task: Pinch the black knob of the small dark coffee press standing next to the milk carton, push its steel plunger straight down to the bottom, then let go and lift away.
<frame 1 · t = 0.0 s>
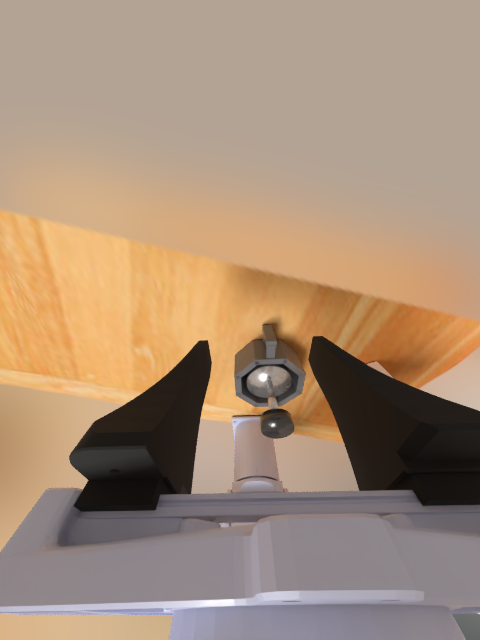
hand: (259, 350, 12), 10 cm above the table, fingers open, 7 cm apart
grey jug: (265, 363, 26), on the table
plunger: (272, 401, 20), point 6 cm above the table, slide at 0.0 cm
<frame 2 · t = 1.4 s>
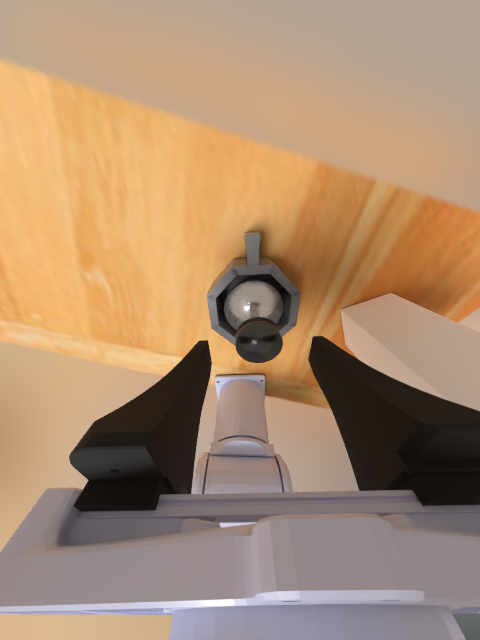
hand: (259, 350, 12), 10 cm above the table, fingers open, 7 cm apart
grey jug: (251, 296, 21), on the table
plunger: (255, 322, 15), point 6 cm above the table, slide at 0.0 cm
milk: (364, 319, 23), on the table
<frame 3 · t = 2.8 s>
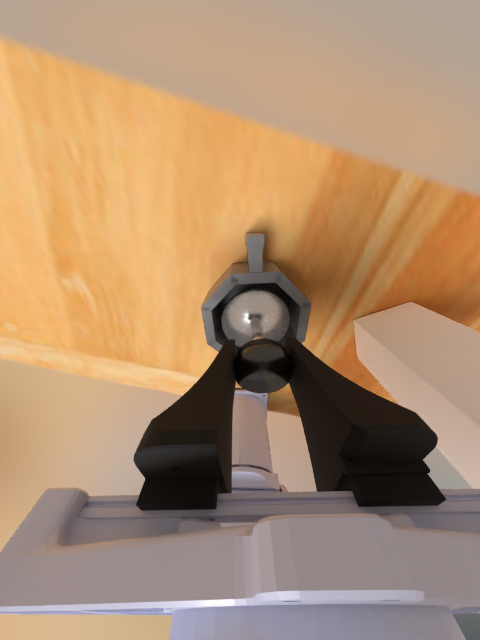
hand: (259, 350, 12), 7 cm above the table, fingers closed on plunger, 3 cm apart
grey jug: (252, 305, 18), on the table
plunger: (258, 341, 13), point 6 cm above the table, slide at 0.0 cm, touching gripper
milk: (379, 330, 20), on the table
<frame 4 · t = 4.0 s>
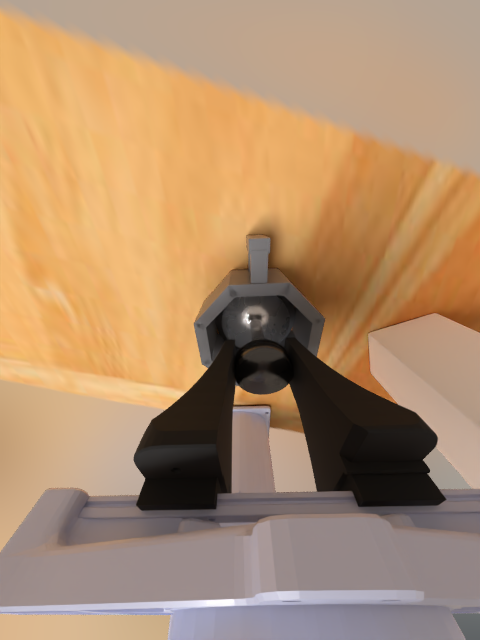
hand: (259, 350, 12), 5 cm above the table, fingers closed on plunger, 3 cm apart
grey jug: (254, 317, 16), on the table
plunger: (258, 341, 13), point 4 cm above the table, slide at 2.5 cm, touching gripper
milk: (397, 344, 18), on the table
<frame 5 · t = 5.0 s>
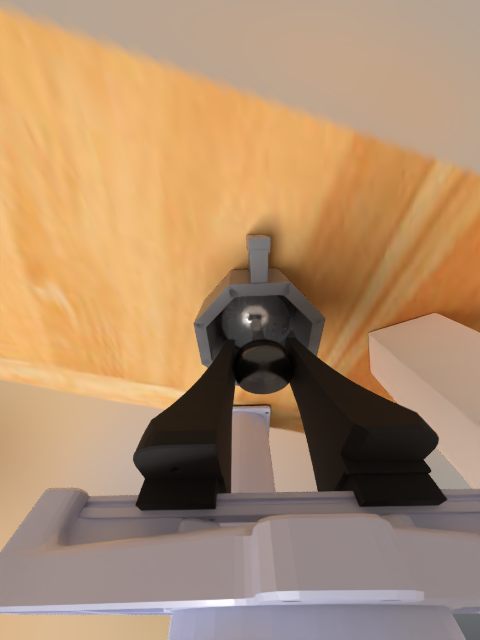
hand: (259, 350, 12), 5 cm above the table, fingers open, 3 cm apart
grey jug: (254, 317, 16), on the table
plunger: (258, 341, 13), point 4 cm above the table, slide at 2.5 cm
milk: (397, 344, 18), on the table
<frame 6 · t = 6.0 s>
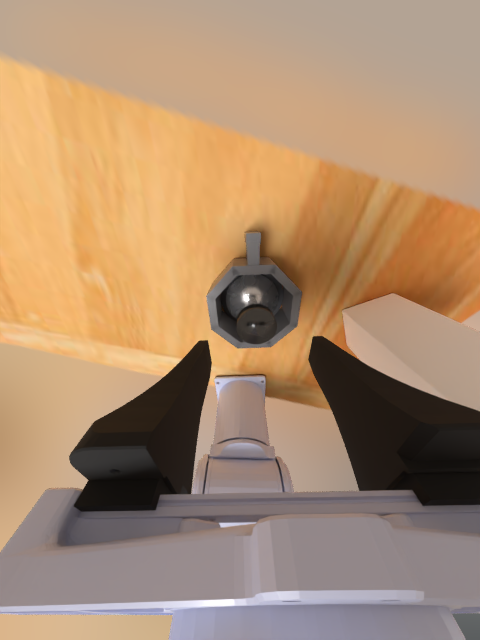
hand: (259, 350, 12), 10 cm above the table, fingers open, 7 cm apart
grey jug: (251, 297, 20), on the table
plunger: (253, 311, 17), point 4 cm above the table, slide at 2.5 cm
milk: (366, 320, 22), on the table
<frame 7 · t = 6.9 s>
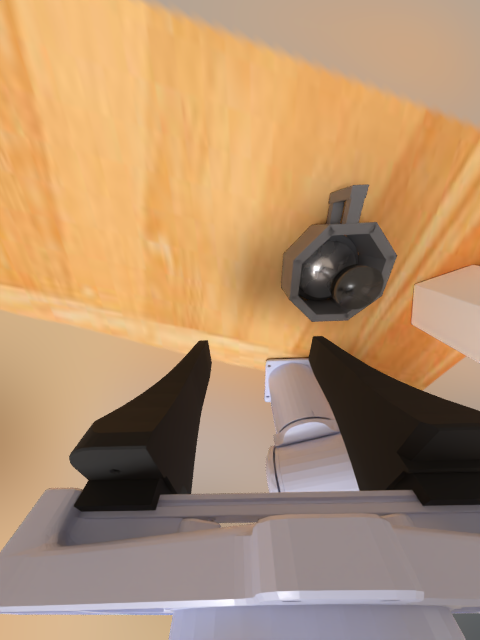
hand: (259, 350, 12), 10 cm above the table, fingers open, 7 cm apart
grey jug: (321, 269, 19), on the table
plunger: (338, 278, 16), point 4 cm above the table, slide at 2.5 cm
milk: (437, 296, 21), on the table
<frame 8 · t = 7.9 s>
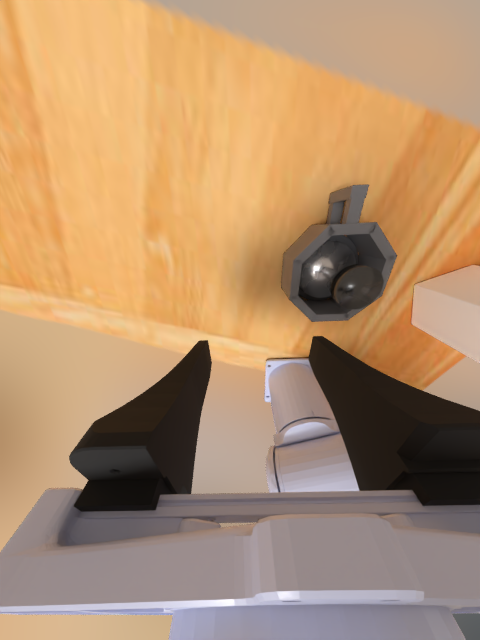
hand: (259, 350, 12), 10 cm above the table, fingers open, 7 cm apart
grey jug: (321, 269, 19), on the table
plunger: (338, 278, 16), point 4 cm above the table, slide at 2.5 cm
milk: (437, 296, 21), on the table
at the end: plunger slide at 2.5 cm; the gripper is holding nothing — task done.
